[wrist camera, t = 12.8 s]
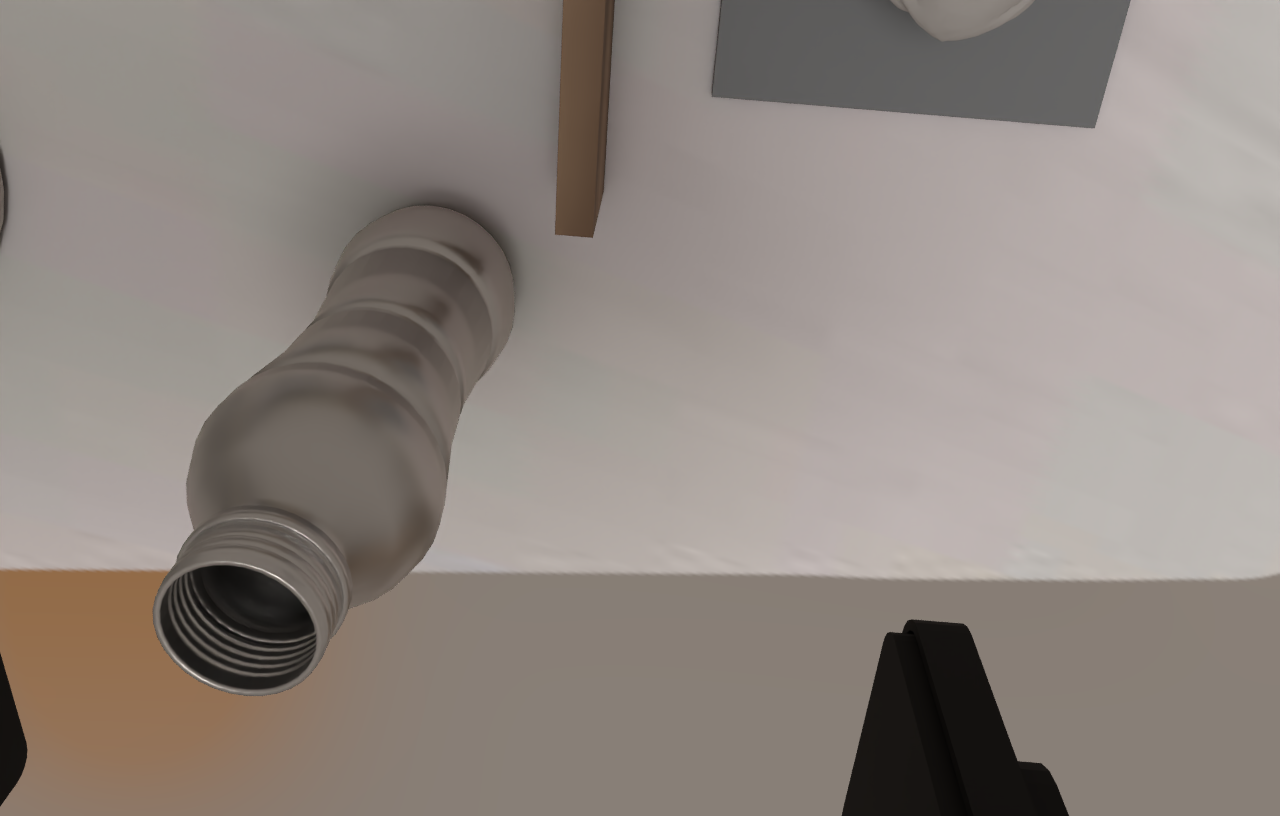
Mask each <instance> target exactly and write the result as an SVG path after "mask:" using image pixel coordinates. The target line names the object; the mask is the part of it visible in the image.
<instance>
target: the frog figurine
mask: <svg viewBox="0 0 1280 816" xmlns="http://www.w3.org/2000/svg"><path fill="white" fill-rule="evenodd" d="M890 1H891V2H892V3H893V4H894V5H895V6H896V7H897V8H899V9H901V10H903V11H906V12H909V14H910V15H911V17H912V18H913V19H914V20H915V22H916V23H917V24H918V25H919V26H920V27H921V28H923V29H924V30H925V31H926V32H927V33H929V34H930V35H931V36H932V37H934V38H936V39H938V40H940V41H942V42H943V41H957V40H963V39H967V38H971V37H976V36H979V35H981V34H983V33H986V32H988V31H990V30H993V29H995V28H997V27H1000V26H1001V25H1003V24H1004V23H1006V22H1008V21H1010V20H1012V19H1014V18H1015V17H1017V16H1018V15H1020V14H1021V13H1022V12H1023V11H1025V10H1026V9H1027V8H1028V7H1029V6H1030V5H1031V4H1032V3H1033V2H1034V1H1035V0H890Z"/></svg>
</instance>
